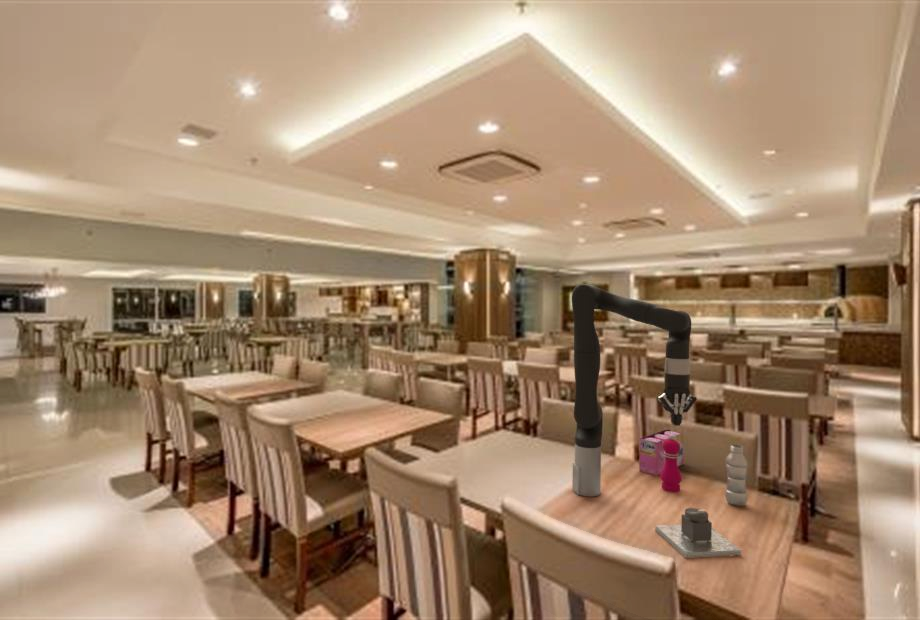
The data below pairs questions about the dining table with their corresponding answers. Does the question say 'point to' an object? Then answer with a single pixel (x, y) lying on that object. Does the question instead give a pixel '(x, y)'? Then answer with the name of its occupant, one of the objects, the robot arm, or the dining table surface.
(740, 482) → the plastic bottle
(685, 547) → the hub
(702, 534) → the knob
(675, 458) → the pepper mill
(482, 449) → the dining table surface
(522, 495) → the dining table surface
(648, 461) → the gum box
